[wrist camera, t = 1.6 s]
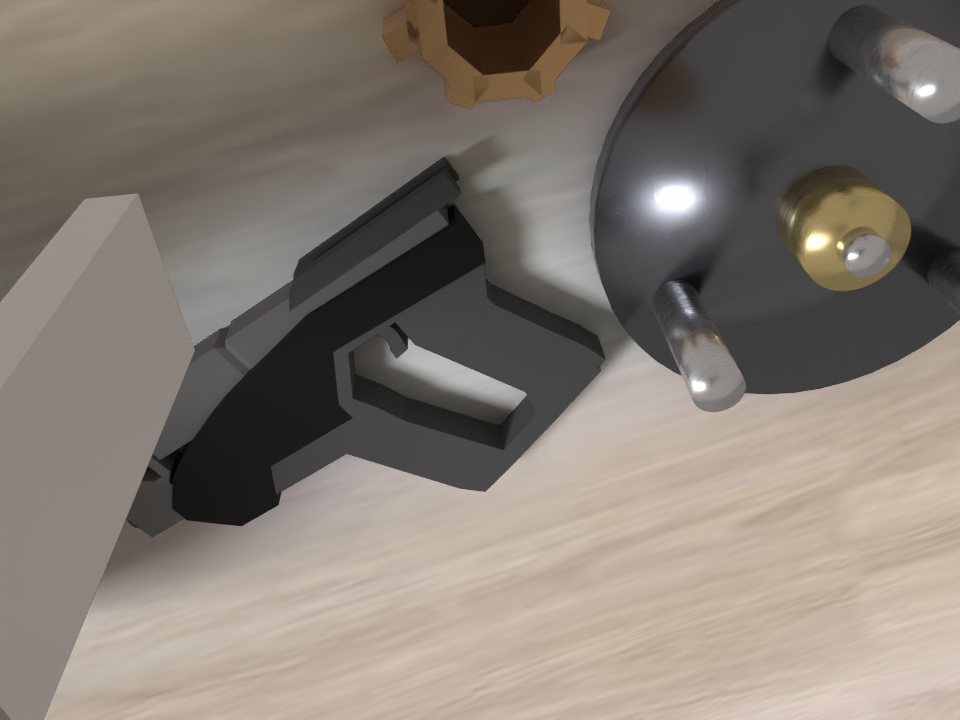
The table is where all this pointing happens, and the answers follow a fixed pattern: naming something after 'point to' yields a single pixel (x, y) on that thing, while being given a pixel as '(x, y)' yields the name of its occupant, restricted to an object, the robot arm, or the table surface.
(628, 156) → the carrier
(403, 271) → the pistol
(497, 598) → the table surface
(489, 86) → the planet gear
